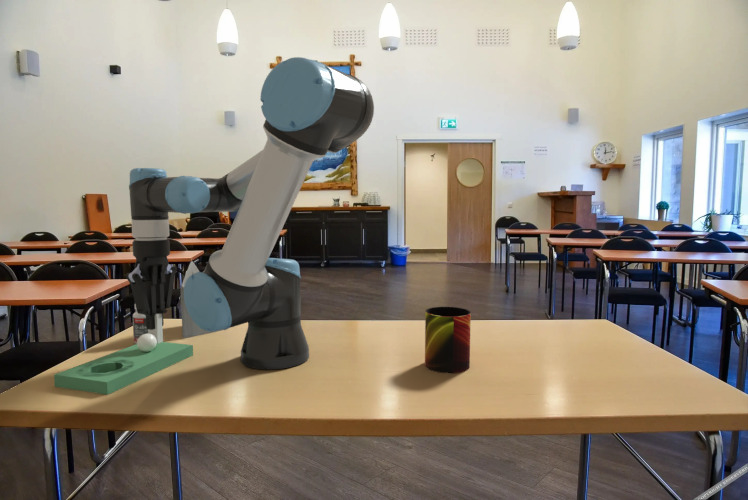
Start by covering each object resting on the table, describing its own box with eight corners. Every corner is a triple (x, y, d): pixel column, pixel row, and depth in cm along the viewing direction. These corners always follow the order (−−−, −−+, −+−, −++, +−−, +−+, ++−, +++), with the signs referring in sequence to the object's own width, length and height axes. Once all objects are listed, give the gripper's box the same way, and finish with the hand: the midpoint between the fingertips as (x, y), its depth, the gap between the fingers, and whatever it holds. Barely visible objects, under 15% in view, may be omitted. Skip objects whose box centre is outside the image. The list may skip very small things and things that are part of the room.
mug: (458, 352, 114) (459, 302, 113) (475, 372, 100) (476, 316, 99) (417, 353, 113) (418, 303, 112) (429, 374, 99) (430, 317, 98)
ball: (161, 349, 108) (160, 332, 108) (147, 355, 104) (147, 337, 104) (146, 347, 109) (146, 330, 109) (133, 353, 105) (132, 335, 105)
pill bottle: (133, 346, 119) (131, 306, 118) (134, 339, 124) (132, 302, 123) (158, 343, 121) (156, 304, 120) (158, 337, 126) (157, 300, 125)
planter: (212, 338, 125) (210, 264, 123) (182, 338, 125) (178, 264, 123) (230, 322, 142) (228, 257, 140) (203, 322, 141) (200, 257, 139)
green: (147, 349, 116) (147, 340, 115) (193, 355, 112) (192, 345, 111) (54, 386, 93) (53, 374, 93) (107, 394, 89) (106, 382, 89)
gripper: (159, 236, 114) (163, 333, 117) (113, 240, 102) (119, 348, 104) (185, 237, 112) (188, 336, 114) (141, 241, 100) (146, 352, 102)
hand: (155, 342), depth 109 cm, fingers closed
